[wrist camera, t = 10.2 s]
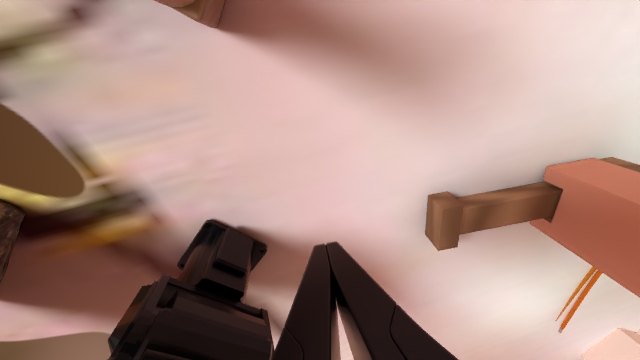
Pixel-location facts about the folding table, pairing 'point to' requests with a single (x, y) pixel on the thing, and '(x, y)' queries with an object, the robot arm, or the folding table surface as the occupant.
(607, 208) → the block
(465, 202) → the rail
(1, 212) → the stone block
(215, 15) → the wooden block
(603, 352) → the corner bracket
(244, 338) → the robot arm
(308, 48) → the folding table surface
